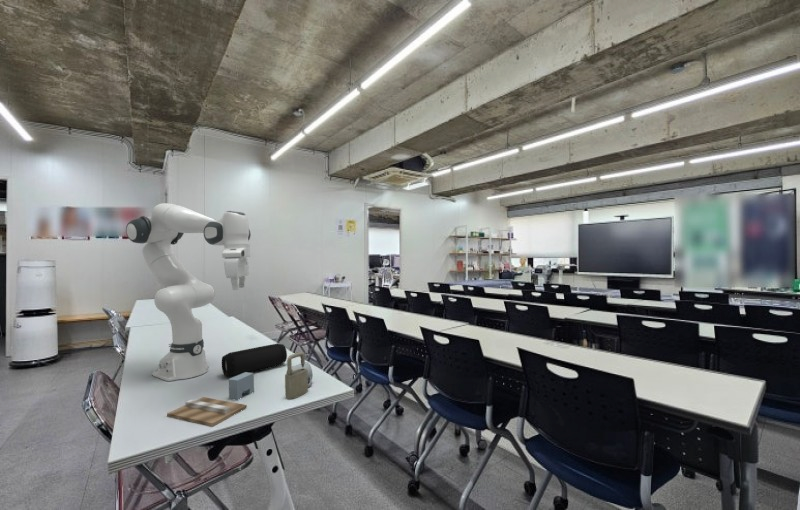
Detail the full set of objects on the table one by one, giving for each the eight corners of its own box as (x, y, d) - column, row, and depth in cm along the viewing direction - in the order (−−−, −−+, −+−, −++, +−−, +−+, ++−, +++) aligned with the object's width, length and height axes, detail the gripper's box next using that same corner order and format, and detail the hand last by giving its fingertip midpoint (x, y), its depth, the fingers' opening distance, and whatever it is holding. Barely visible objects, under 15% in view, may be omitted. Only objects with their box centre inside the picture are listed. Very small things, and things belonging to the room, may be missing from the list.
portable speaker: (279, 361, 165) (278, 340, 165) (288, 366, 158) (287, 344, 158) (221, 375, 148) (220, 351, 148) (227, 381, 141) (227, 356, 141)
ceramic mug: (285, 383, 136) (284, 364, 136) (304, 378, 141) (304, 359, 141) (297, 391, 128) (297, 371, 128) (317, 385, 134) (317, 366, 133)
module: (229, 398, 123) (228, 379, 123) (245, 390, 130) (245, 372, 130) (237, 400, 121) (237, 380, 121) (254, 392, 128) (253, 373, 128)
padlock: (309, 391, 127) (308, 351, 127) (291, 399, 121) (290, 357, 120) (302, 389, 130) (301, 349, 129) (284, 397, 123) (283, 355, 123)
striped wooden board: (167, 416, 110) (166, 408, 110) (203, 399, 122) (203, 392, 122) (212, 426, 103) (212, 418, 103) (246, 408, 115) (246, 400, 115)
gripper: (235, 253, 143) (236, 287, 143) (220, 252, 123) (221, 291, 122) (251, 253, 144) (253, 286, 144) (239, 252, 124) (241, 290, 124)
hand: (238, 288), depth 133 cm, fingers open, 8 cm apart
